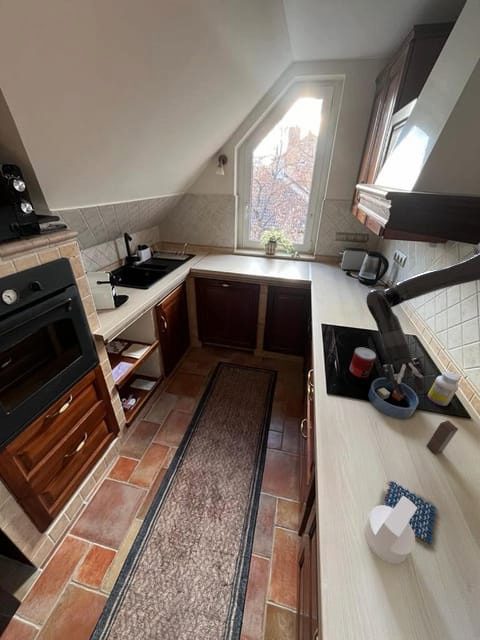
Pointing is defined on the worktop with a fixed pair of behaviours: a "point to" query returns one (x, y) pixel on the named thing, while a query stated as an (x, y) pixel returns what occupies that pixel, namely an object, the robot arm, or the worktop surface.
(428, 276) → the robot arm
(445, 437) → the brown rectangular block
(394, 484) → the woven mat
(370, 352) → the canned food
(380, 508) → the base with upright slab
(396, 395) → the block
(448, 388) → the supplement bottle
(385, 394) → the block
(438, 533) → the worktop surface
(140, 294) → the worktop surface
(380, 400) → the bowl
